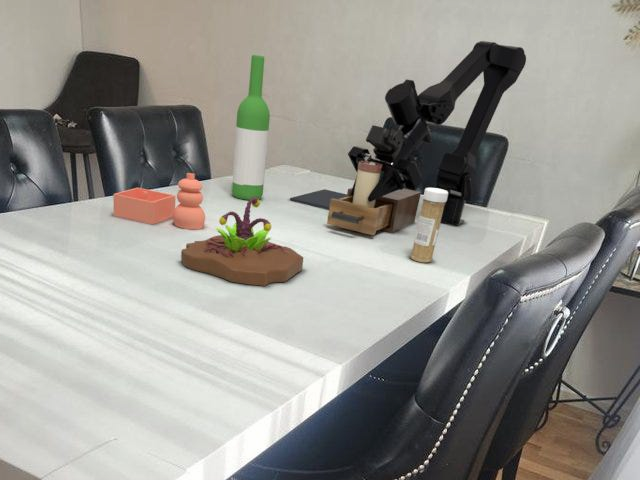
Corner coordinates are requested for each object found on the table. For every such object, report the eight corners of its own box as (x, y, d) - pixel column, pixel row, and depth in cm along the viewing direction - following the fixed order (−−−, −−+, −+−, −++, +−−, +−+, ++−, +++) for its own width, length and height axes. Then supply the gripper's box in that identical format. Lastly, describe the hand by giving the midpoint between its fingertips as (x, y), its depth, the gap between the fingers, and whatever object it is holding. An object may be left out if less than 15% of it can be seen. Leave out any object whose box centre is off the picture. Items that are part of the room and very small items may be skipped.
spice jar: (436, 262, 132) (453, 192, 124) (420, 263, 130) (437, 192, 122) (420, 255, 135) (437, 186, 127) (404, 257, 133) (420, 186, 125)
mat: (324, 191, 181) (324, 189, 180) (390, 206, 174) (390, 204, 173) (289, 200, 166) (290, 197, 165) (360, 217, 159) (361, 214, 158)
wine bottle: (261, 202, 159) (275, 58, 143) (230, 198, 159) (239, 53, 142) (262, 196, 166) (275, 57, 149) (232, 192, 165) (242, 52, 149)
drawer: (365, 238, 138) (370, 212, 135) (318, 226, 142) (322, 201, 139) (396, 225, 152) (401, 201, 149) (352, 214, 156) (356, 191, 153)
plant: (319, 269, 119) (328, 204, 112) (260, 292, 104) (267, 219, 98) (231, 243, 126) (235, 181, 120) (164, 261, 112) (165, 192, 106)
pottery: (113, 215, 133) (112, 163, 128) (137, 208, 141) (137, 158, 135) (192, 233, 129) (194, 180, 123) (212, 224, 137) (215, 174, 131)
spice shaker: (354, 216, 149) (364, 159, 142) (375, 221, 147) (386, 164, 141) (345, 220, 145) (355, 161, 139) (366, 225, 144) (377, 166, 137)
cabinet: (391, 233, 149) (398, 200, 145) (342, 220, 153) (347, 188, 149) (414, 222, 161) (421, 192, 157) (368, 211, 165) (373, 181, 161)
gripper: (361, 105, 142) (317, 160, 142) (426, 119, 131) (377, 179, 131) (379, 145, 151) (337, 197, 151) (440, 161, 140) (395, 217, 140)
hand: (360, 197), depth 143 cm, fingers closed on spice shaker, 5 cm apart
